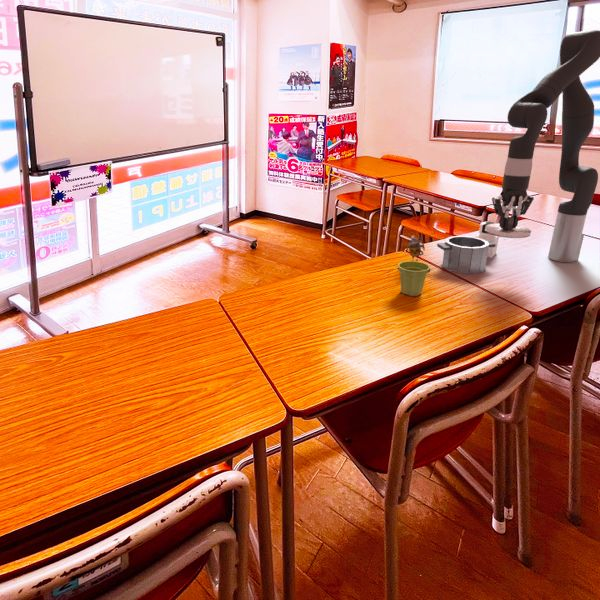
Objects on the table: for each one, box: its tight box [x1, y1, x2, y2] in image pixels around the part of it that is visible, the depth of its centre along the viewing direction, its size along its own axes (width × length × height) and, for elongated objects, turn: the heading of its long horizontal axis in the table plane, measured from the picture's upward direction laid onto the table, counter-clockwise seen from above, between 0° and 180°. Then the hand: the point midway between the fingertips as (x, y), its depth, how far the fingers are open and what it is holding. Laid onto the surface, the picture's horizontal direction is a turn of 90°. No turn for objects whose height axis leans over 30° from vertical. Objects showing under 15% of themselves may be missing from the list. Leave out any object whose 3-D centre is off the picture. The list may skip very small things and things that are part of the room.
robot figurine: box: [404, 235, 431, 273], centre depth 172 cm, size 11×9×12 cm
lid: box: [485, 215, 532, 239], centre depth 160 cm, size 14×14×5 cm
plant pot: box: [397, 260, 431, 297], centre depth 154 cm, size 9×9×9 cm
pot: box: [436, 235, 496, 275], centre depth 176 cm, size 19×14×9 cm
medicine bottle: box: [474, 221, 500, 259], centre depth 188 cm, size 7×7×12 cm
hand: (507, 228), depth 161 cm, fingers closed on lid, 3 cm apart
